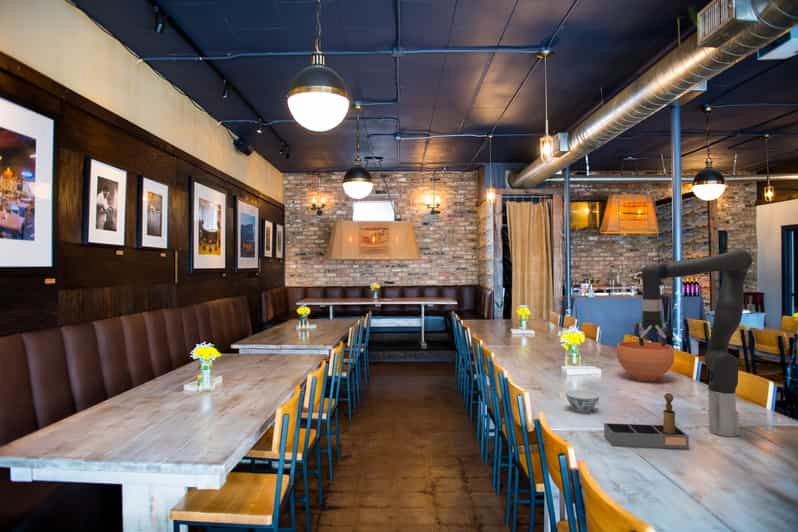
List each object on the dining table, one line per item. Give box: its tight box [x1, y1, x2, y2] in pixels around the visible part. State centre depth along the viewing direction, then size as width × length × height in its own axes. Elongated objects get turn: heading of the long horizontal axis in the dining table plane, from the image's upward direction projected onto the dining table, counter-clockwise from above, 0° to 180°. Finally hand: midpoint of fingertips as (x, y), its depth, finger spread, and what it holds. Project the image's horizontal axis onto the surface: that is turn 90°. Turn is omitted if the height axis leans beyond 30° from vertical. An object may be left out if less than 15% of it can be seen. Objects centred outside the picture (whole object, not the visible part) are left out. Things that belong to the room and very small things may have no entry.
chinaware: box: [565, 389, 600, 413], centre depth 222 cm, size 15×15×8 cm
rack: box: [603, 422, 690, 450], centre depth 181 cm, size 27×12×5 cm, turn 81°
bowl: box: [616, 340, 675, 382], centre depth 278 cm, size 30×30×20 cm
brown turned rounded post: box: [661, 392, 678, 435], centre depth 180 cm, size 7×6×18 cm
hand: (652, 346), depth 205 cm, fingers open, 8 cm apart
